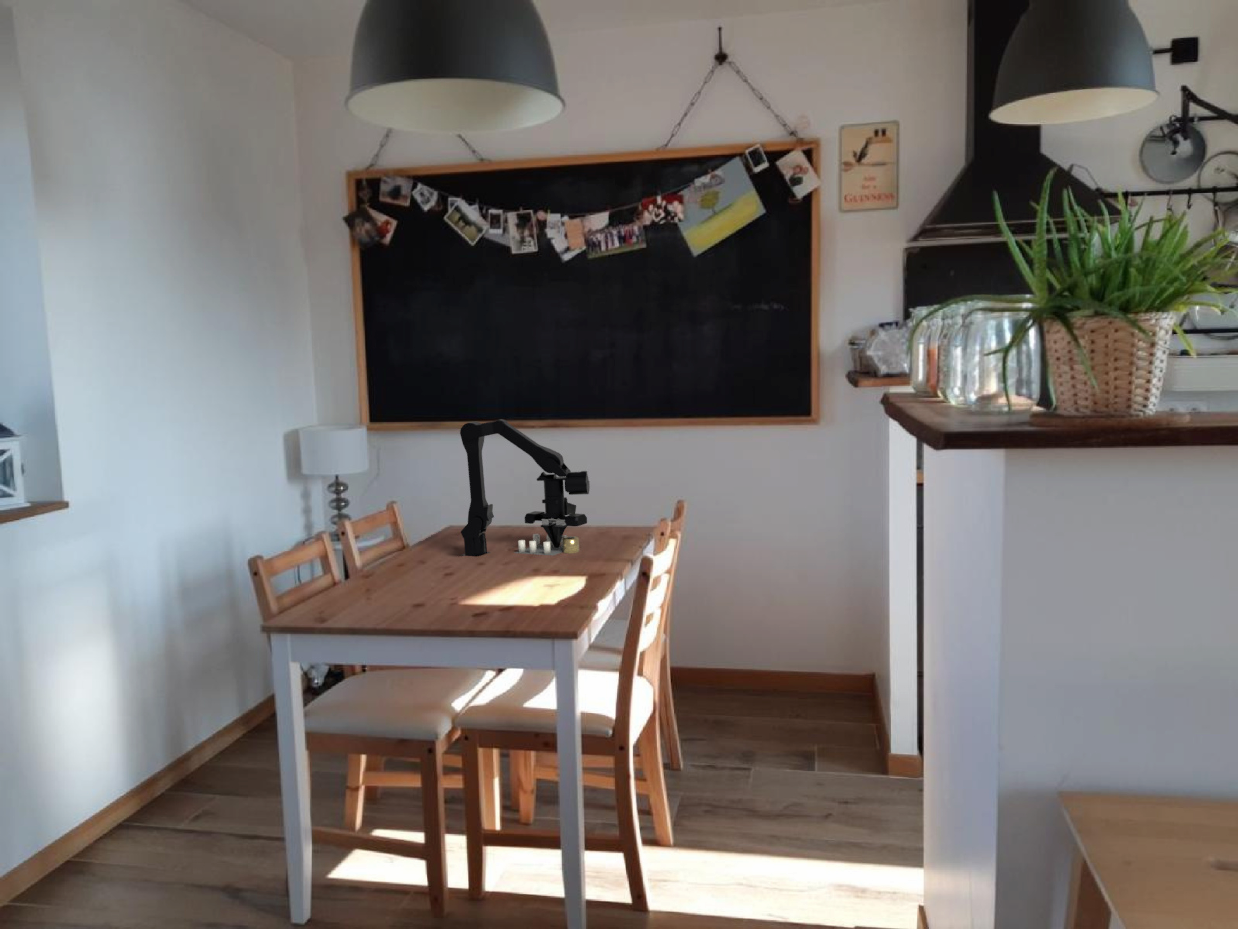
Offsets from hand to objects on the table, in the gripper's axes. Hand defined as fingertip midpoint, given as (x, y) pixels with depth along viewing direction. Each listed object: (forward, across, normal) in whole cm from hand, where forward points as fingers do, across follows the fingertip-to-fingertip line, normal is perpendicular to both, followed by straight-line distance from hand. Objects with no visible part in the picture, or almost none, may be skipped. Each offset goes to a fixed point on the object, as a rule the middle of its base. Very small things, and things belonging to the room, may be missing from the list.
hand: (557, 547), depth 279 cm
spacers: (+1, +6, 0) cm, 6 cm away
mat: (+1, +4, 0) cm, 5 cm away
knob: (+1, -5, 0) cm, 5 cm away
